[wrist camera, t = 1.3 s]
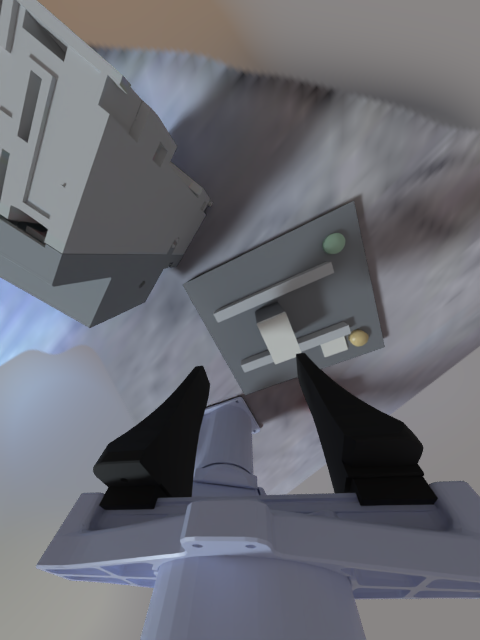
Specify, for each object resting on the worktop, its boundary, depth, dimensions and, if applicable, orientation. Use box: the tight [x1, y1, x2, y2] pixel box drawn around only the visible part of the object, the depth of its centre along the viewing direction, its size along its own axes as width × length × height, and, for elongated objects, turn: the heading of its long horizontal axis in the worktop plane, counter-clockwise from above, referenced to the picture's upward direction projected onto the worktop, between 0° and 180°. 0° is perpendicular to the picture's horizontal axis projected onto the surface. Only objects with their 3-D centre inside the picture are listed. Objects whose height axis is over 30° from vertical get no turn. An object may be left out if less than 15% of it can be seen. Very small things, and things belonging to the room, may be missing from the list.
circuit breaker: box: [0, 0, 213, 328], centre depth 14 cm, size 8×14×15 cm, turn 144°
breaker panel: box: [183, 201, 385, 395], centre depth 22 cm, size 20×18×3 cm
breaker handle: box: [255, 302, 301, 365], centre depth 20 cm, size 3×5×4 cm, turn 25°
